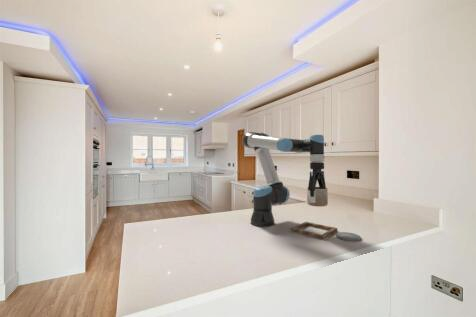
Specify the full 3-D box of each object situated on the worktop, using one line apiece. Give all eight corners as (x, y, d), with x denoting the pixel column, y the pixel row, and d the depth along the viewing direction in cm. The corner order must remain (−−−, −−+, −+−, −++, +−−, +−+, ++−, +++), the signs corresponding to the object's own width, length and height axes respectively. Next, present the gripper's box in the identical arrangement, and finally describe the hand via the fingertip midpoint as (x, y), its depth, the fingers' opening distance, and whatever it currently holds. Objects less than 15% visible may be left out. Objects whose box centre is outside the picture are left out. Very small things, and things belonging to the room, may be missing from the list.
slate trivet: (332, 237, 116) (332, 235, 116) (339, 231, 125) (339, 230, 125) (357, 243, 108) (357, 241, 108) (363, 237, 117) (363, 235, 117)
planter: (305, 205, 122) (305, 188, 123) (309, 202, 132) (309, 186, 132) (326, 207, 117) (326, 189, 117) (328, 204, 127) (328, 187, 127)
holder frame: (290, 231, 125) (290, 228, 125) (305, 224, 139) (305, 221, 139) (324, 239, 112) (324, 236, 112) (337, 231, 126) (337, 228, 126)
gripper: (314, 162, 114) (315, 205, 114) (331, 162, 131) (331, 199, 131) (301, 162, 119) (301, 203, 119) (319, 162, 136) (319, 198, 136)
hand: (317, 201), depth 125 cm, fingers closed on planter, 11 cm apart
